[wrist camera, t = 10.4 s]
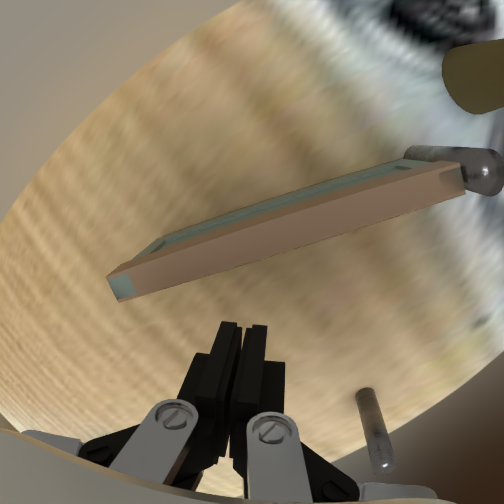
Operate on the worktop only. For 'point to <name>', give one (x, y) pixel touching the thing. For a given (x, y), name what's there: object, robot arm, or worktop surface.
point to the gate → (287, 224)
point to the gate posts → (475, 179)
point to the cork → (476, 76)
